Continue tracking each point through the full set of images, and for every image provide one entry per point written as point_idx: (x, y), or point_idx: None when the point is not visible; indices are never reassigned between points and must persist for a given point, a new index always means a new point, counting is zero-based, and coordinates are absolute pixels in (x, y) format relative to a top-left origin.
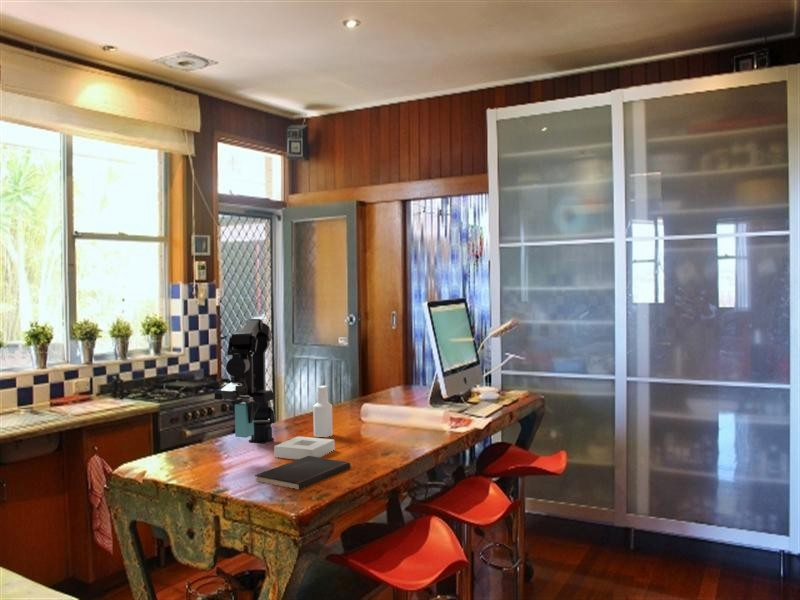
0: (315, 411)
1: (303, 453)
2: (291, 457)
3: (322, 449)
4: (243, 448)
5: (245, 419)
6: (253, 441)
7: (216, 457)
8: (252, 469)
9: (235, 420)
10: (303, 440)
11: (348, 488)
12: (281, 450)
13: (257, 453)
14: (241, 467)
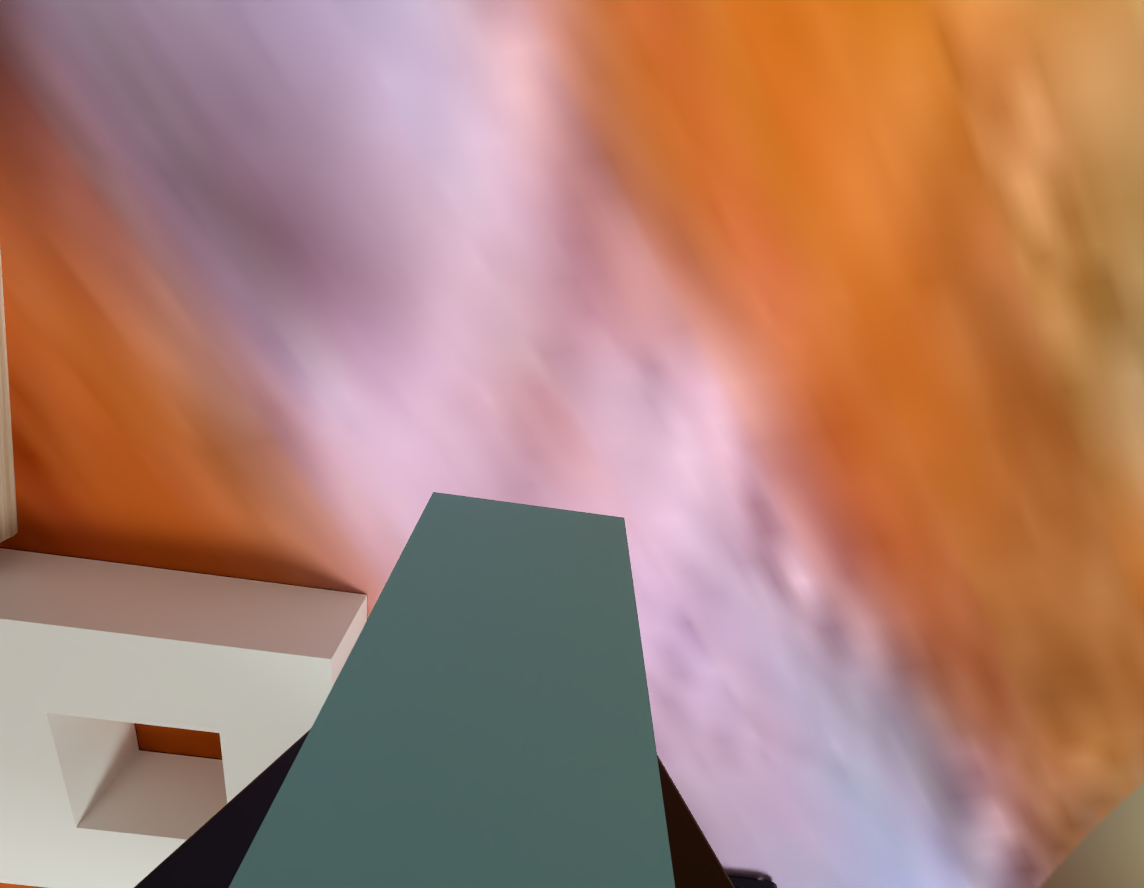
0: None
1: (37, 592)
2: (194, 580)
3: None
4: (740, 753)
5: (330, 706)
6: (734, 881)
7: (857, 509)
8: (320, 210)
9: (635, 705)
10: None
11: None
12: (267, 626)
13: None
14: (465, 254)
